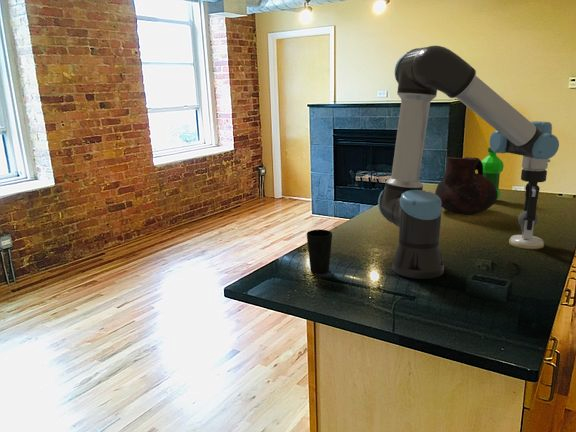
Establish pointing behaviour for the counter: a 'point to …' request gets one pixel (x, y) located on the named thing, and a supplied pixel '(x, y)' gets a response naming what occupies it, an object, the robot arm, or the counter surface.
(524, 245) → the white plate
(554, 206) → the counter surface
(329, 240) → the cup
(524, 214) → the light bulb
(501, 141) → the robot arm
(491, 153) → the plastic bottle
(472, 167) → the jug
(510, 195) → the counter surface
